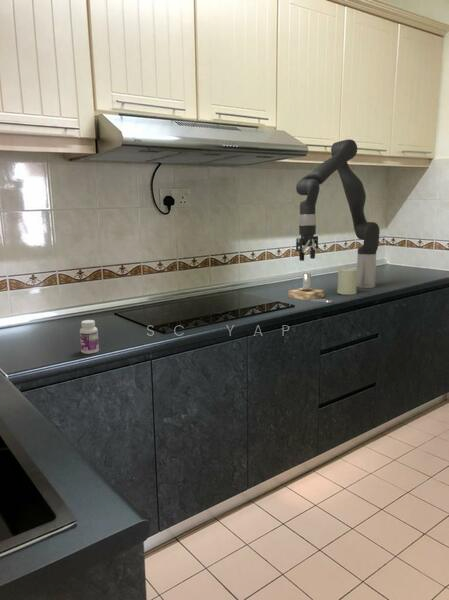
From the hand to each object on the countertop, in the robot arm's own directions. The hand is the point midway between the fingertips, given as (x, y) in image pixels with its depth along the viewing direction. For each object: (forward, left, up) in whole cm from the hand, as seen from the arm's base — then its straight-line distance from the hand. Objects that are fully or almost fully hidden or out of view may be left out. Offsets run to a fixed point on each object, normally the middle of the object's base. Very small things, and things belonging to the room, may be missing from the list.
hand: (307, 259), depth 224 cm
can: (-21, +9, -18) cm, 29 cm away
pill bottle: (+113, -1, -18) cm, 114 cm away
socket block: (0, 0, -18) cm, 18 cm away
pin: (0, 0, -18) cm, 18 cm away
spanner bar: (+5, +10, -18) cm, 21 cm away
